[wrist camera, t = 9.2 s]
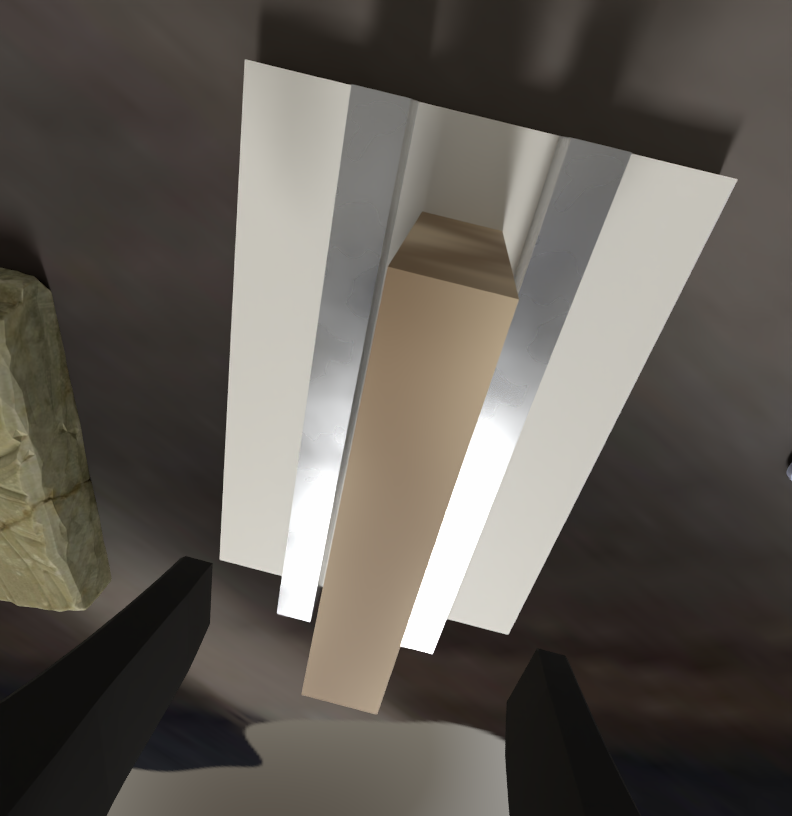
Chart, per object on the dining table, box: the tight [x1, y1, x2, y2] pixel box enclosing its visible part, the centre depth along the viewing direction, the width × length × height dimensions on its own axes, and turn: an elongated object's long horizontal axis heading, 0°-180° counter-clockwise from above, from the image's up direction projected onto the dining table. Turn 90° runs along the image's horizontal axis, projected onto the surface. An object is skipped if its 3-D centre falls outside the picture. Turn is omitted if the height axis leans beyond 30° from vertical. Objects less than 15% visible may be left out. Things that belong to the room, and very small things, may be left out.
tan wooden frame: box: [301, 211, 519, 714], centre depth 16 cm, size 3×14×7 cm, turn 168°
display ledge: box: [220, 59, 738, 654], centre depth 19 cm, size 14×20×3 cm
